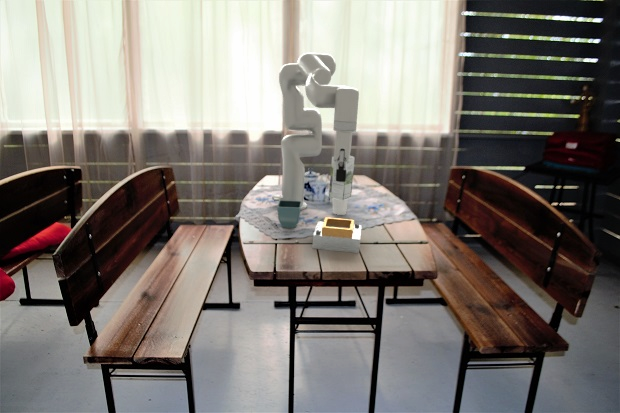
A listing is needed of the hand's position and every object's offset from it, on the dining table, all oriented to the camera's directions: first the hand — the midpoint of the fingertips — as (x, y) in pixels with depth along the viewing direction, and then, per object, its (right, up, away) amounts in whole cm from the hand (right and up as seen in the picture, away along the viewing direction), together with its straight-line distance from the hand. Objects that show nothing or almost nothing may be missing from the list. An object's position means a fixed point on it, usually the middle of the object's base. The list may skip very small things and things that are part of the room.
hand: (341, 178), depth 153 cm
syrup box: (0, -7, +2) cm, 7 cm away
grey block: (+2, -8, +54) cm, 55 cm away
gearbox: (-1, -23, +7) cm, 24 cm away
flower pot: (-19, -17, +22) cm, 34 cm away
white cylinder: (+2, -13, +40) cm, 42 cm away
